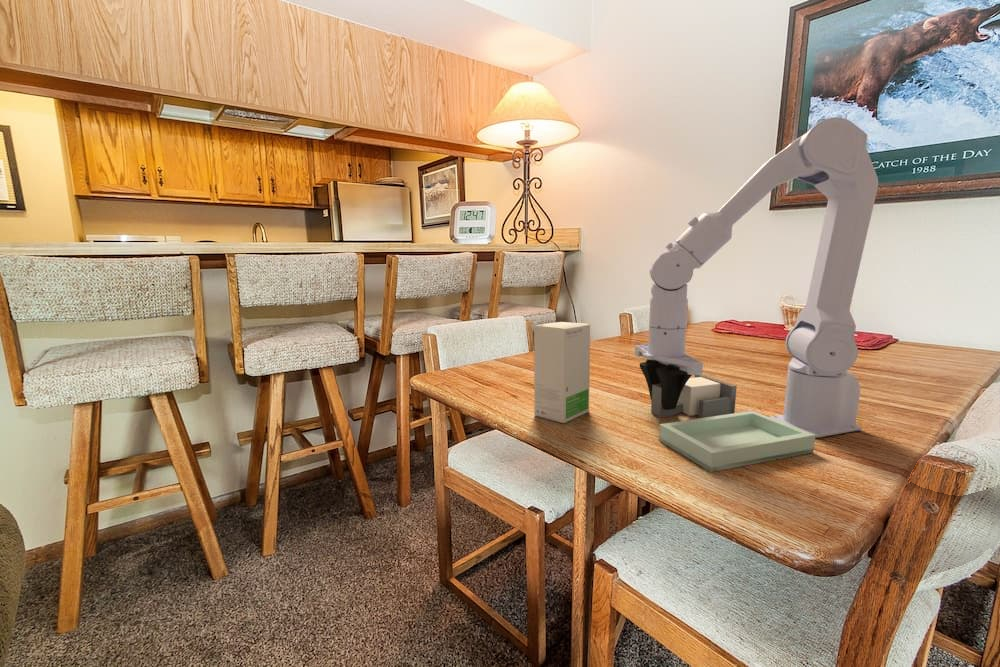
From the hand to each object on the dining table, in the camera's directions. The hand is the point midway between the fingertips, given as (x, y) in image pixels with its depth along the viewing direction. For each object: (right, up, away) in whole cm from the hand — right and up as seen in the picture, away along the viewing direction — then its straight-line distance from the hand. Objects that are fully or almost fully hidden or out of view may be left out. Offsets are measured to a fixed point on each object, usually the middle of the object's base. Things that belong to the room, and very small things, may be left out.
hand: (663, 405), depth 73 cm
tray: (+5, -4, -13) cm, 14 cm away
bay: (+7, -1, +2) cm, 8 cm away
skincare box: (-17, -2, +1) cm, 17 cm away
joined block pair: (+4, -1, +1) cm, 4 cm away
